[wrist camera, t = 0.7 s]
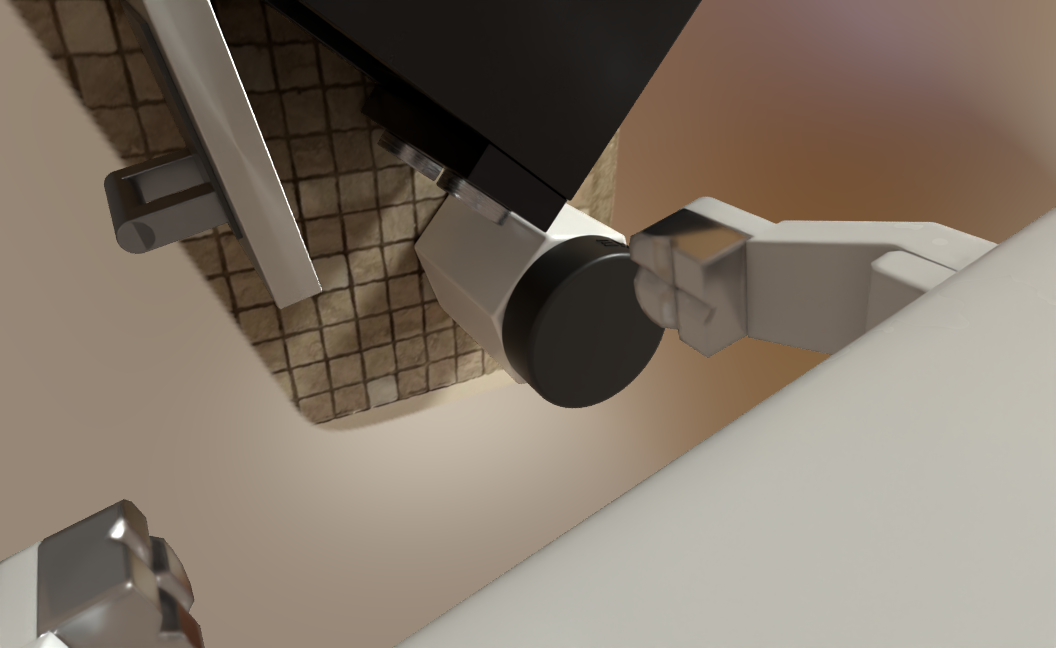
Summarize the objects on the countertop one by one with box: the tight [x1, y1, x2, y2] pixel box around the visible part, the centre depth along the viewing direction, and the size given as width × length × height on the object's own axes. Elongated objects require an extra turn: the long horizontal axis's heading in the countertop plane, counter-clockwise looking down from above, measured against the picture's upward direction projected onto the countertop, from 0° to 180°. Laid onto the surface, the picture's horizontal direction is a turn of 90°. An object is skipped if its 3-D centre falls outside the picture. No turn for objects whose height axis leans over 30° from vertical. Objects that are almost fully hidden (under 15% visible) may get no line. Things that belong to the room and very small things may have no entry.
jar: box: [414, 194, 665, 408], centre depth 37 cm, size 9×8×12 cm
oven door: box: [104, 0, 322, 309], centre depth 25 cm, size 5×11×12 cm, turn 10°
